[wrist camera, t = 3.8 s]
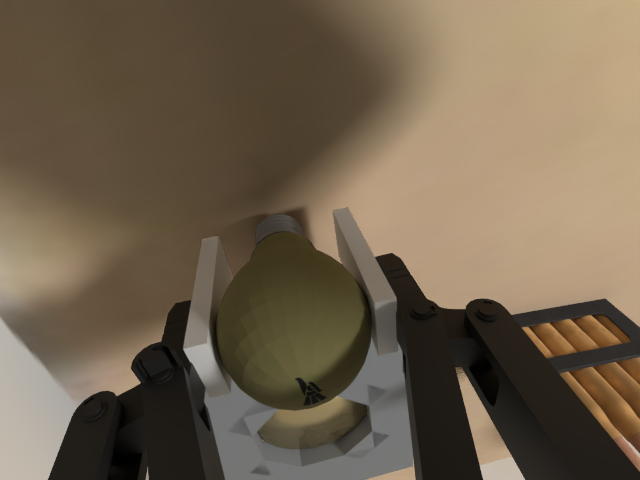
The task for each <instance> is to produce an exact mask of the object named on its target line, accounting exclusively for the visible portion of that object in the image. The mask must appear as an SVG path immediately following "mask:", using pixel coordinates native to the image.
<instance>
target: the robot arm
mask: <svg viewBox="0 0 640 480" xmlns="http://www.w3.org/2000/svg"><path fill="white" fill-rule="evenodd" d="M333 217H334V224H335V232H336V239H337V246H338V253H339V257H340V260H341V262H342V265H343V266H344V267H345V268H346V269H347V270H348V271H349V272H350V273H351V274H352V276H353V277H354V278H355V279H356V281H357V282H358V283H359V285H360V287H361V289H362V291H363V292H364V294H365V297H366V299H367V302H368V306H369V309H370V315H371V322H372V325H371V338H372V341H373V343H374V346H375V348H376V351H377V353H378V356H381V355H385V354H389V353H393V352H397V351H398V343H399V346H400V348H401V350H402V357H403V373H404V377H405V386H406V395H407V404H408V413H409V422H410V431H411V440H412V449H413V458H414V467H415V476H416V480H483V478H482V475H481V470H480V466H479V462H478V458H477V454H476V450H475V445H474V441H473V437H472V433H471V429H470V425H469V421H468V417H467V413H466V409H465V405H464V401H463V397H462V393H461V389H460V385H459V381H458V377H457V373H456V369H455V367H462V368H463V370H464V372H465V374H466V375H467V377H468V379H469V381H470V382H471V384H472V386H473V388H474V390H475V391H476V393H477V395H478V397H479V398H480V400H481V402H482V404H483V405H484V407H485V409H486V411H487V413H488V414H489V416H490V418H491V420H492V421H493V423H494V425H495V427H496V428H497V430H498V432H499V434H500V436H501V437H502V439H503V441H504V443H505V444H506V446H507V448H508V450H509V452H510V453H511V455H512V457H513V459H514V460H515V462H516V464H517V466H518V467H519V469H520V471H521V473H522V474H523V476H524V478H525V480H640V471H639V470H638V469H637V468H636V467H635V465H634V464H633V463H632V462H631V460H630V459H629V458H628V457H627V456H626V454H625V453H624V452H623V451H622V449H621V448H620V447H619V446H618V445H617V443H616V442H615V441H614V440H613V439H612V437H611V436H610V435H609V434H608V432H607V431H606V430H605V429H604V428H603V426H602V425H601V424H600V423H599V421H598V420H597V419H596V418H595V417H594V415H593V414H592V413H591V412H590V410H589V409H588V408H587V407H586V406H585V404H584V403H583V402H582V401H581V400H580V398H579V397H578V396H577V395H576V393H575V392H574V391H573V390H572V389H571V387H570V386H569V385H568V384H567V382H566V381H565V380H564V379H563V378H562V376H561V375H560V374H559V373H558V372H557V370H556V369H555V368H554V367H553V365H552V364H551V363H550V362H549V361H548V359H547V358H546V357H545V356H544V354H543V353H542V352H541V351H540V350H539V348H538V347H537V346H536V345H535V344H534V342H533V341H532V340H531V339H530V337H529V336H528V335H527V334H526V333H525V331H524V330H523V329H522V328H521V326H520V325H519V324H518V323H517V322H516V320H515V319H514V318H513V317H512V315H511V314H510V313H509V312H508V311H507V309H506V308H505V307H503V306H502V305H501V304H500V303H498V302H496V301H493V300H489V299H475V300H473V301H470V302H469V303H468V304H467V306H466V309H445V308H441V307H439V306H438V305H437V304H436V303H434V302H433V301H430V300H428V299H427V298H426V297H425V296H424V294H423V292H422V291H421V289H420V288H419V286H418V285H417V283H416V281H415V280H414V278H413V277H412V275H410V272H409V271H408V269H407V268H406V266H405V264H404V263H403V261H402V260H401V259H400V258H399V257H397V256H396V255H394V254H393V253H390V254H385V255H381V256H377V257H374V255H373V253H372V251H371V249H370V248H369V246H368V244H367V242H366V240H365V238H364V236H363V235H362V233H361V231H360V229H359V227H358V225H357V223H356V222H355V220H354V218H353V216H352V214H351V212H350V210H349V209H348V207H346V208H342V209H337V210H333ZM233 278H234V277H233V274H232V271H231V269H230V266H229V263H228V260H227V258H226V255H225V252H224V249H223V247H222V244H221V241H220V238H219V236H213V237H209V238H204V239H202V243H201V249H200V255H199V260H198V266H197V272H196V277H195V283H194V289H193V295H192V300H189V301H184V302H180V303H176V304H175V305H174V306H173V308H172V309H171V311H170V312H169V313H168V317H167V321H166V326H165V329H164V334H163V337H162V341H161V342H158V343H155V344H151V345H149V346H148V347H146V348H144V349H143V350H142V351H141V352H140V353H138V354H137V355H136V357H135V358H134V360H133V362H132V365H131V369H132V371H133V372H134V374H135V375H136V376H137V378H138V379H139V381H140V382H141V384H139V385H137V386H136V387H134V388H132V389H130V390H128V391H126V392H124V393H122V394H120V395H118V396H116V395H115V394H114V393H113V392H110V391H102V392H99V393H96V394H94V395H92V396H90V397H89V398H87V399H86V400H85V401H83V402H82V403H81V404H80V406H79V407H78V408H77V409H76V410H75V412H74V414H73V416H72V418H71V421H70V423H69V426H68V428H67V431H66V434H65V436H64V439H63V442H62V444H61V447H60V450H59V452H58V455H57V457H56V460H55V463H54V465H53V468H52V471H51V473H50V476H49V478H48V480H145V479H146V473H147V467H148V474H149V480H225V477H224V472H223V468H222V464H221V460H220V456H219V452H218V448H217V444H216V440H215V435H214V431H213V427H212V423H211V419H210V415H209V411H208V408H207V406H206V404H205V403H204V398H205V390H206V392H207V394H208V396H209V397H210V398H213V397H217V396H221V395H225V394H229V393H231V377H230V376H229V374H228V373H227V371H226V369H225V367H224V365H223V362H222V360H221V357H220V354H219V351H218V347H217V337H216V324H217V315H218V309H219V306H220V304H221V301H222V298H223V296H224V293H225V291H226V289H227V287H228V285H229V284H230V283H231V281H232V280H233Z"/></svg>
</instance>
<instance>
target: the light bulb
mask: <svg viewBox="0 0 640 480" xmlns="http://www.w3.org/2000/svg"><path fill="white" fill-rule="evenodd" d="M255 242H256V248H255V249H254V251H253V253H252V256H251V259H250V261H249V262H248V263H247V264H246V265H245V266H244V267H242V269H241V270H240V271H239V272H238V273H237V275H236V276H235V277H234V278H233V280H232V281H231V283H230V284H229V285H228V287H227V289H226V291H225V293H224V296H223V298H222V301H221V304H220V306H219V309H218V315H217V324H216V337H217V347H218V351H219V354H220V357H221V360H222V362H223V365H224V367H225V369H226V371H227V373H228V374H229V376H230V377H231V378H232V380H233V381H234V382H235V383H236V385H237V386H238V387H239V388H240V389H241V390H242V391H243V392H244V393H246V394H247V395H248V396H250V397H251V398H253V399H254V400H256V401H257V402H259V403H261V404H263V405H265V406H269V407H272V408H276V409H281V410H292V411H298V410H304V409H311V408H314V407H317V406H319V405H322V404H324V403H327V402H329V401H331V400H332V399H334V398H335V397H336V396H338V395H339V394H341V393H342V392H343V391H344V390H345V389H347V388H348V387H349V386H350V385H351V383H352V382H353V381H354V379H355V378H356V377H357V375H358V374H359V372H360V370H361V369H362V367H363V365H364V363H365V360H366V357H367V354H368V351H369V347H370V343H371V325H372V322H371V315H370V309H369V306H368V302H367V299H366V297H365V294H364V292H363V291H362V289H361V287H360V285H359V283H358V282H357V281H356V279H355V278H354V277H353V276H352V274H351V273H350V272H349V271H348V270H347V269H346V268H345V267H344V266H343V265H342V264H341V263H339V262H338V261H336V260H335V259H333V258H332V257H331V256H329V255H327V254H325V253H323V252H321V251H318V250H316V249H315V247H314V246H313V245H312V243H311V242H310V241H308V240H307V239H306V238H304V236H303V232H302V229H301V226H300V224H299V223H298V222H297V221H296V220H295V219H294V218H292V217H290V216H288V215H282V214H276V215H272V216H269V217H267V218H265V219H264V220H263V221H261V222H260V223H259V225H258V226H257V228H256V232H255Z"/></svg>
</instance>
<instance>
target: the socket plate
mask: <svg viewBox="0 0 640 480" xmlns="http://www.w3.org/2000/svg"><path fill="white" fill-rule="evenodd" d="M204 403H205V404H206V406H207V408H208V411H209V415H210V419H211V423H212V427H213V431H214V435H215V440H216V444H217V448H218V452H219V456H220V460H221V464H222V468H223V472H224V477H225V480H365V479H368V478H372V477H375V476H379V475H383V474H386V473H390V472H393V471H397V470H401V469H404V468H408V467H412V466H413V449H412V440H411V431H410V422H409V413H408V404H407V395H406V386H405V377H404V373H403V357H402V350H401V348H400V346H399V343H398V351H397V352H393V353H389V354H385V355H381V356H378V353H377V351H376V348H375V346H374V343H373V341H372V338H371V343H370V347H369V351H368V354H367V357H366V360H365V363H364V365H363V367H362V369H361V370H360V372H359V374H358V375H357V377H356V378H355V379H354V381H353V382H352V383H351V385H350V386H349V387H348V388H347V389H345V390H344V391H343V392H342V393H341V394H339V395H338V396H336V397H335V398H334V399H332V400H331V401H329V402H327V403H324V404H322V405H319V406H317V407H314V408H311V409H304V410H298V411H292V410H281V409H276V408H272V407H269V406H265V405H263V404H261V403H259V402H257V401H256V400H254V399H253V398H251V397H250V396H248V395H247V394H246V393H244V392H243V391H242V390H241V389H240V388H239V387H238V386H237V385H236V383H235V382H234V381H233V380H232V378H231V393H229V394H225V395H221V396H217V397H213V398H210V397H209V396H208V394H207V392H206V390H205V398H204ZM365 405H366V411H367V415H365V416H364V414H365ZM363 416H364V417H363ZM261 437H262V438H263V439H264V440H265V441H266V442H263V441H262V438H261Z"/></svg>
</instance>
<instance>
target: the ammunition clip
mask: <svg viewBox="0 0 640 480" xmlns="http://www.w3.org/2000/svg"><path fill="white" fill-rule="evenodd" d="M512 317H513V318H514V319H515V320H516V322H517V323H518V324H519V325H520V326H521V328H522V329H523V330H524V331H525V333H526V334H527V335H528V336H529V337H530V339H531V340H532V341H533V342H534V344H535V345H536V346H537V347H538V348H539V350H540V351H541V352H542V353H543V354H544V356H545V357H546V358H547V359H548V361H549V362H550V363H551V364H552V365H553V367H554V368H555V369H556V370H557V372H558V373H559V374H560V375H561V376H562V378H563V379H564V380H565V381H566V382H567V384H568V385H569V386H570V387H571V389H572V390H573V391H574V392H575V393H576V395H577V396H578V397H579V398H580V400H581V401H582V402H583V403H584V404H585V406H586V407H587V408H588V409H589V410H590V412H591V413H592V414H593V415H594V417H595V418H596V419H597V420H598V421H599V423H600V424H601V425H602V426H603V428H604V429H605V430H606V431H607V432H608V434H609V435H610V436H611V437H612V439H613V440H614V441H615V442H616V443H617V445H618V446H619V447H620V448H621V449H622V451H623V452H624V453H625V454H626V456H627V457H628V458H629V459H630V460H631V462H632V463H633V464H634V465H635V467H636V468H637V469H638V470H639V471H640V458H639V457H638V456H637V454H636V453H635V452H634V451H633V449H632V448H631V447H630V446H629V445H628V444H627V443H626V441H625V440H624V439H623V437H624V438H625V439H626V440H627V441H628V442H630V443H631V444H632V445H633V446H634V447H635V449H636V450H637V451H638V452H639V453H640V327H639V326H637V325H636V324H635V323H634V322H633V321H631V320H630V319H629V318H628V317H627V316H625V315H624V314H623V313H622V312H621V311H619V310H618V309H617V308H616V307H615V306H613V305H612V304H611V303H610V302H609V301H607V300H606V299H600V300H595V301H589V302H583V303H577V304H572V305H566V306H560V307H555V308H549V309H543V310H537V311H532V312H526V313H520V314H515V315H512ZM616 429H617V430H618V431H619V432H620V433H621V435H622V436H623V437H622V436H621V435H620V433H619V432H618V431H617V430H616Z"/></svg>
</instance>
